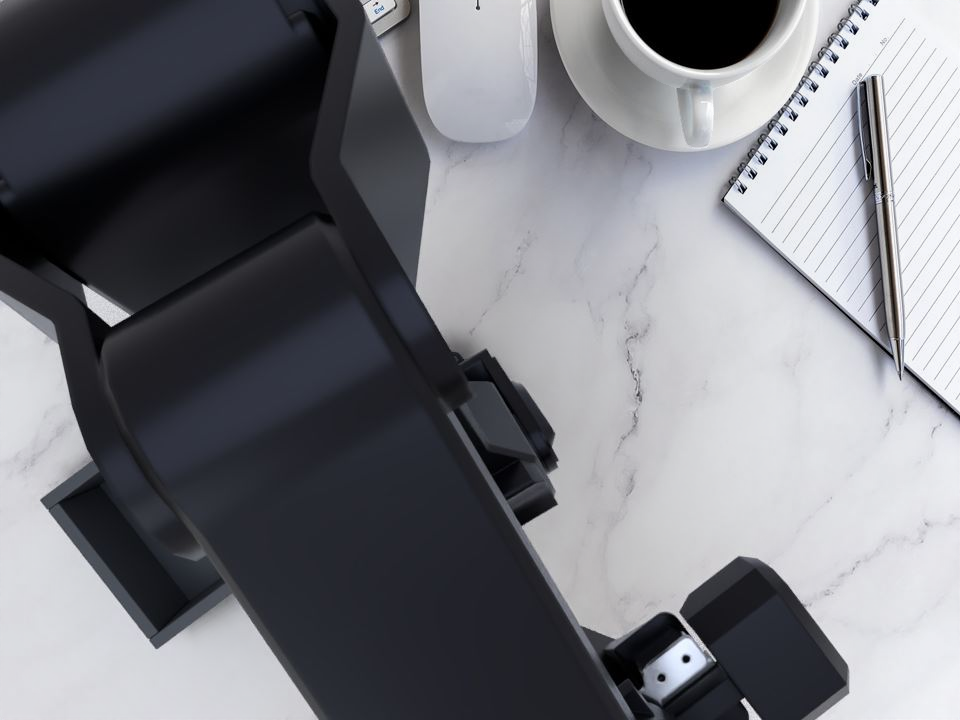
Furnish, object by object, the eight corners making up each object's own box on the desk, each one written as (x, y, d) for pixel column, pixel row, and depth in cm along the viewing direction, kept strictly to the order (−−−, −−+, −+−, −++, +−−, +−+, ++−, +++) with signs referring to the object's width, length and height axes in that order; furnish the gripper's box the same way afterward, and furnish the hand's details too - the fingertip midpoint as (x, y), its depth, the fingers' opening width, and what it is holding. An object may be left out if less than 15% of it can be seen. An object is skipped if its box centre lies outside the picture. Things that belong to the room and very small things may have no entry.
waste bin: (222, 380, 51) (193, 385, 45) (324, 513, 51) (308, 536, 45) (86, 481, 51) (38, 500, 45) (189, 614, 51) (156, 650, 45)
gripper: (580, 1265, 26) (529, 921, 42) (1054, 890, 27) (828, 688, 42) (360, 989, 26) (391, 745, 41) (846, 611, 26) (695, 511, 42)
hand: (582, 677), depth 42 cm, fingers closed on ink cartridge, 3 cm apart
